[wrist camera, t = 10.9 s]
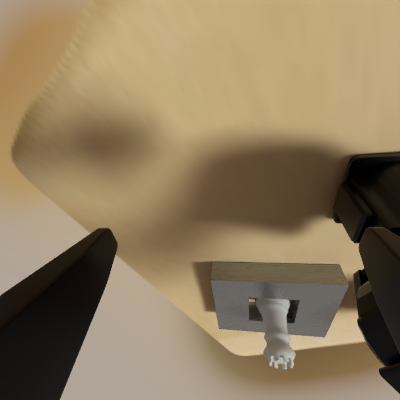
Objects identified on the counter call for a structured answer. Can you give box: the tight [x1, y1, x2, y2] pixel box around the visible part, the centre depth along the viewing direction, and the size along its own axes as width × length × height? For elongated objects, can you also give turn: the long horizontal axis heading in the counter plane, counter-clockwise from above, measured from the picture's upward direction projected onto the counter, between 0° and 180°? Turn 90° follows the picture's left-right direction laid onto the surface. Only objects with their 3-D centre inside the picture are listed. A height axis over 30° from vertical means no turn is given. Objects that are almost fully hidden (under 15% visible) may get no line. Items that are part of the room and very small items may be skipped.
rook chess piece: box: [255, 298, 296, 369], centre depth 26 cm, size 4×4×8 cm
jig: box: [210, 262, 349, 337], centre depth 28 cm, size 14×12×2 cm
